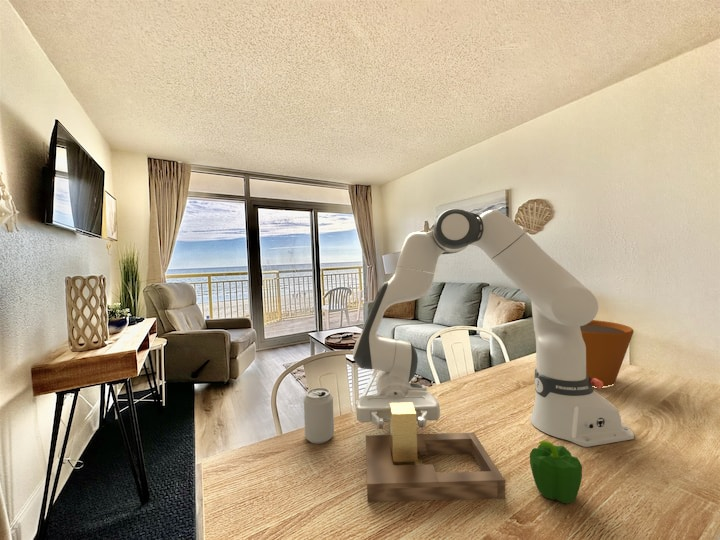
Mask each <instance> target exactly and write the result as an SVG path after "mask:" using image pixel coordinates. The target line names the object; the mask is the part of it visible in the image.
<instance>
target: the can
mask: <svg viewBox="0 0 720 540" xmlns="http://www.w3.org/2000/svg"><path fill="white" fill-rule="evenodd" d="M305 394H306V395H305V396H304V398H303V411H304V412H303V413H304V414H303V415H304V418H303V419H304V435H305V439H307V441H309V442H310V443H312V444H317V445H318V444H319V445H321V444H324V443H327V442H329V440H331V439H332V438H333V436H334V435H335V426H334V425H335V422H334V421H335V420H334V419H335V418H334V417H335V416H334V396H333V394H331V390H330V389H329V388H327V387H314V388H311V389H309V390H307V391H306V393H305Z"/></svg>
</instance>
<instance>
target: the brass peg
mask: <svg viewBox="0 0 720 540" xmlns="http://www.w3.org/2000/svg"><path fill="white" fill-rule="evenodd" d="M389 425H390V429H389V431H390V433H389V434H390V435H391V451H392V454H391V456H392V462H393V465H424V464H423V462H422V458H421V455H420V454H419V453H417V434H418V433H417V431H418V430H417V429H418V427H417V426H418V421H416V411H415V409H414V406H413V403H412V402H409V403H390V422H389Z"/></svg>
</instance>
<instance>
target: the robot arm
mask: <svg viewBox="0 0 720 540" xmlns="http://www.w3.org/2000/svg"><path fill="white" fill-rule="evenodd" d="M471 245H472V246H475V247H478V248H479V249H481V250H482V251H483V252H484V253H485V254H486V255H487V256H488V257H489V259H491V261H492V262H493V263H494V264H495V265H496V266H497V267H498V268H499V270H501V271H502V272H503V275H505V276H506V277H507V278H508V279H509V280H510V281H511V282H512V283H513V284H514V285H515V286H516V287H517V288H518V289H519V290H520V291H521V292H522V293H523V294H524V295H526V297H527V298H528V299H529V300H530V303H531V313H532V320H533V321H532V322H533V330H534V335H535V347H536V348H535V351H536V353H535V355H536V361H535V363H536V368H535V369H534V390H535V396H534V397H535V398H534V403H533V407H532V412H531V415H530V416H529V417H530V419H529V421H530V423H531V424H532V425H533V426H534V427H535V428H536V429H538V430H539V431H541V432H543V433H545V434H547V435H549V436H552V437H555V438H558V439H561V440H566V441H569V442H570V443H573V444H576V445H579V446H581V447H584V448H585V447H586V448H588V447H594V446H601V445H606V444H610V443H611V444H613V443H616V442H617V443H618V442H624V441H628V440H629V441H630V440H634V439H635V435H634V432H633V431H632V429H630V428H629V426H627V425H626V424H625V423H623V422H622V418H621V415H620V412H619V410H618V408H617V407H616V406H615V405H614V404H612V402H610V401H609V400H607V399H606V398H605V397H603V396H602V395H601V394H599V393H598V392H597V391H595V390H594V389H595V388H593V387H592V385H593V386H595V387H597V388H596V389H603V388H602V387H603V384H602V383H603V382H602V381H600V380H598V379H596V378H593V379H591V377H589V376H587V375H586V345H585V343H584V340H583V337H582V333H581V329H580V326H583V325H586V324H588V323H590V322H591V321H592V320H595V318H596V316H597V314H598V312H599V302H598V299H597V297H596V296H595V294H593V292H592V291H591V290H589V289H588V288H587V287H586V286H585V285H584V284H583V283H581V282H580V280H578V279H577V278H576V277H575V276H573V275H572V274H571V272H569V271H568V270H566V268H564V267H563V266H562V265H561V264H560V263H558V262H557V261H556V260H554V259H553V258H552V257H551V256H550V255H549V254H547V252H545V250H544V249H542V247H541V246H539V245H538V243H536V241H535V240H534V239H533V238H532V237H531V236H530V235H529V234H528V233H527V232H526V231H525V230H524V229H523V228H522V227H521V226H520V225H519V224H517V223H516V222H515V221H514V220H513V219H511V218H510V217H508V216H507V215H506V214H504V212H502V211H500V210H498V209H490V210H487V211H484V212H483V213H481V214H478V213H474V212H470V211H467V210H464V209H460V208H451V209H447V210H445V211H443V212H442V213H440V215H438V216H437V218H436V219H435V221H434V223H433V228H432V229H431V230H430V231H427V232H424V231H415V232H411V233H409V234H408V235H407V236H406V237H405V239H404V242H403V244H402V247H401V250H400V252H399V256H398V260H397V264H396V268H395V271H394V273H393V275H392V276H391V278H390V279H389V280H387V281H384V282H383V283H382V284H381V286H380V287H379V289H378V291H377V293H376V295H375V297H374V301H373V302H372V306H371V308H370V309H369V313H368V314H367V318H366V320H365V323H364V325H363V328H362V330H361V332H360V334H359V336H358V338H357V340H356V342H355V344H354V347H353V352H352V359H353V360H354V362H355V364H356V365H357V366H358V367H359V368H360V369H363V370H364V369H365V370H371V371H372V370H374V371H377V375H376V383H375V386H376V393H377V395H376V394H375V395H371V394H370V395H362V396H360V397H359V398H358V399H356V400H355V407H356V420H357V421H358V422H359V423H372V424H373V425H374V426H376V429H377V430H384V423H386V422H387V423H390V403H409V402H412V403H413V406H414V409H415V411H416V422H417V426H418V428H419V429H421V428H422V429H426V423H427V421H439V419H440V415H441V407H440V403H439V402H438V400H437V398H436V397H435V396H434V394H432V393H431V392H430V391H428V388H427V386H426V385H424V384H419V383H412V382H411V381H412V380H413V379H414V377H415V375H416V372H417V369H418V362H419V361H418V360H419V358H418V352H417V350H416V348H415V346H414V345H413V344H412V342H410V341H407V340H402V339H396V338H391V337H385V336H380V335H377V332H378V329H379V328H380V324H381V323H382V320H383V317H384V315H385V312H386V310H388V308H390V307H391V306H393V305H395V304H399V303H405V302H411V301H415V300H420V298H423V297H424V296H425V295H427V294H428V293H429V291H431V287H432V285H433V281H434V278H435V272H436V267H437V263H438V260H439V257H440V256H441V255H450V254H457V253H459V252H462V251H463V250H465V249H466V248H467V247H469V246H471ZM591 384H592V385H591Z"/></svg>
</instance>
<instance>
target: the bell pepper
mask: <svg viewBox="0 0 720 540" xmlns="http://www.w3.org/2000/svg"><path fill="white" fill-rule="evenodd" d="M538 443H539V445H538V447H534V448H532V449H531V451H530V452H529V465H530V469H531V470H530V471H531V473H532V477H533V480H534V483H535V486H536V488H537V490H538V491H539V493H540V494H541V495H542V496H543V497H544V498H546V499H548V500H558V502H560V503H563V504H567V505H568V504H570V503H572V502H574V501H575V500H576V499H577V496H578V494H579V490H580V487H581V482H582V479H583V465H582V463H581V461H580V459H578V457H576V456H572V453H571V452H570V450H568V449H567V447H565V446H564V445H555V444H553V443H552V442H551V441H547V440H541V441H539V442H538Z"/></svg>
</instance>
